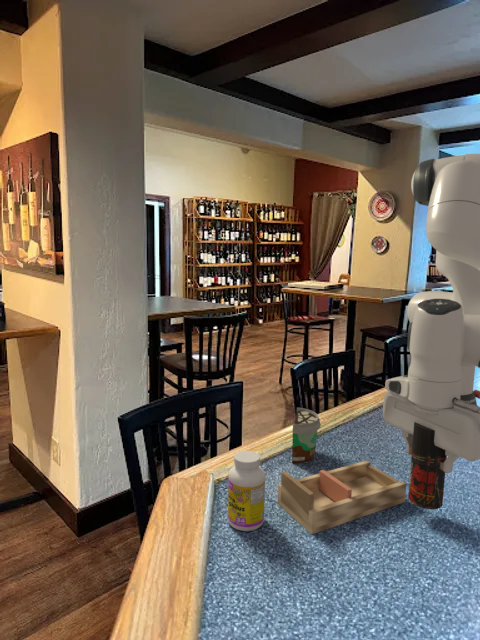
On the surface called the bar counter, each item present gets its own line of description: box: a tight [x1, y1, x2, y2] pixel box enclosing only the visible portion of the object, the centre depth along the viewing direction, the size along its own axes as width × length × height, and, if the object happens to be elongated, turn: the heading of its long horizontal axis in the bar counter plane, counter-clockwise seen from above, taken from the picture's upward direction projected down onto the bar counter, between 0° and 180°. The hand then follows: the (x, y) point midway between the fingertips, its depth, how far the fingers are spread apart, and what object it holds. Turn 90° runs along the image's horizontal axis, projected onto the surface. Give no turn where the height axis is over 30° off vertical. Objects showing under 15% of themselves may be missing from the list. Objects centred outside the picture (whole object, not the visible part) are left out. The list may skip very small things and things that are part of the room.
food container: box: [291, 407, 322, 465], centre depth 110 cm, size 12×6×10 cm, turn 168°
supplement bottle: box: [227, 450, 266, 532], centre depth 83 cm, size 7×7×13 cm
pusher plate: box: [318, 469, 352, 502], centre depth 90 cm, size 1×8×4 cm, turn 28°
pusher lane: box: [277, 460, 408, 535], centre depth 90 cm, size 23×11×7 cm, turn 118°
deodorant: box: [407, 422, 448, 510], centre depth 85 cm, size 6×6×15 cm
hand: (428, 462), depth 85 cm, fingers closed on deodorant, 6 cm apart
